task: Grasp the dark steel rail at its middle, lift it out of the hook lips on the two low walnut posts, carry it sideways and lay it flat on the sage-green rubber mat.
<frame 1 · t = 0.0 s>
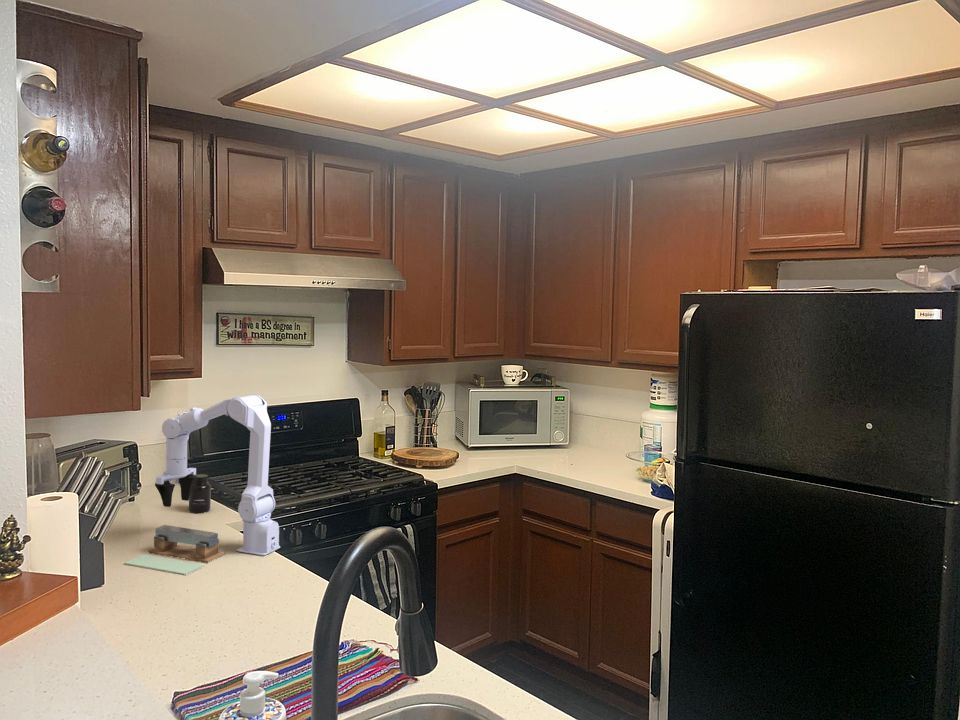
hand: (176, 503, 216), 10 cm above the worktop, tool pointing down, fingers open, 7 cm apart
steel rail: (186, 541, 202), point 4 cm above the worktop, touching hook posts
supplement bottle: (199, 511, 244), on the worktop
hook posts: (186, 553, 202), on the worktop
rubber mat: (164, 565, 193), on the worktop
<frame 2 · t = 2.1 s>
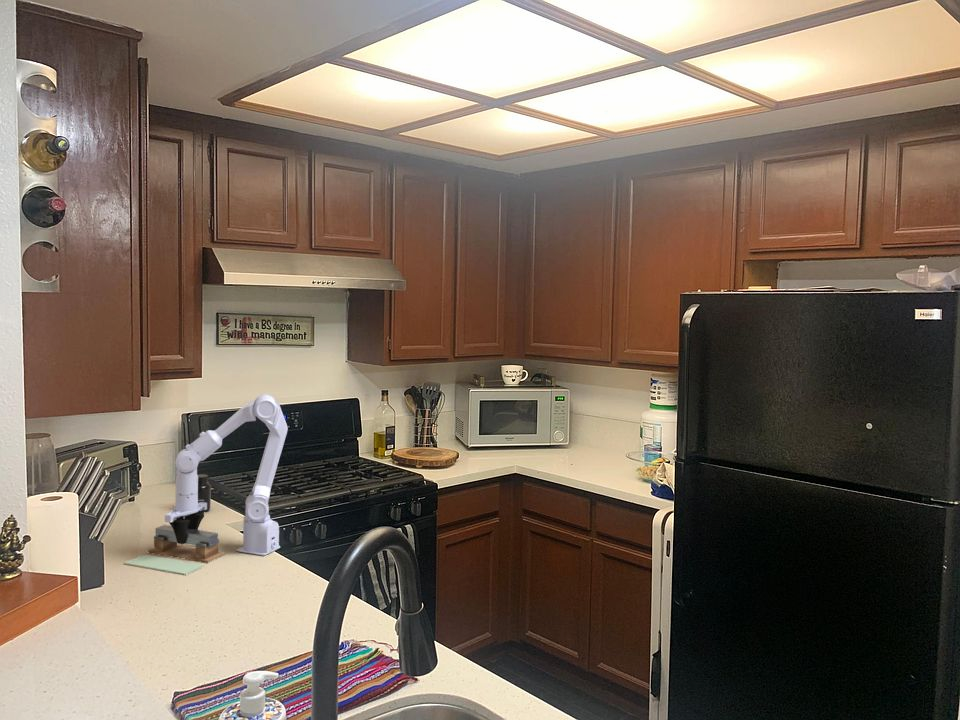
hand: (186, 541, 202), 4 cm above the worktop, tool pointing down, fingers closed on steel rail, 3 cm apart
steel rail: (186, 541, 202), point 4 cm above the worktop, touching gripper, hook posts
everything else where it was.
when the fingers open (2 cm above the worktop, at t = 6.1 s): steel rail drops 1 cm, resting on rubber mat.
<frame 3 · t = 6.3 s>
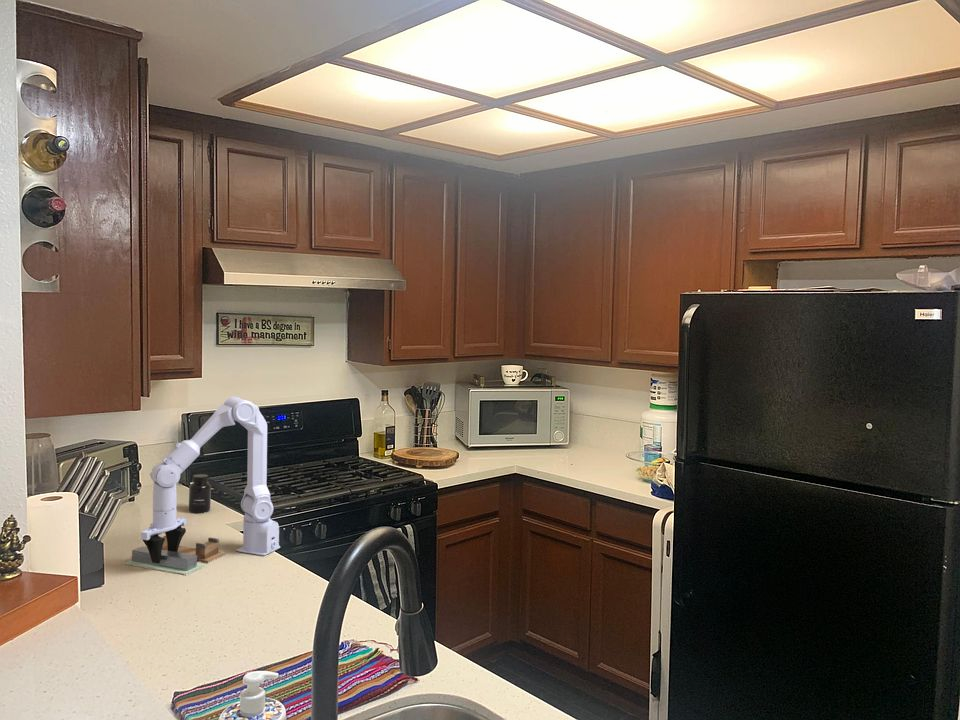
hand: (164, 559, 193), 2 cm above the worktop, tool pointing down, fingers open, 5 cm apart
steel rail: (164, 563, 193), resting on rubber mat
everything else where it was.
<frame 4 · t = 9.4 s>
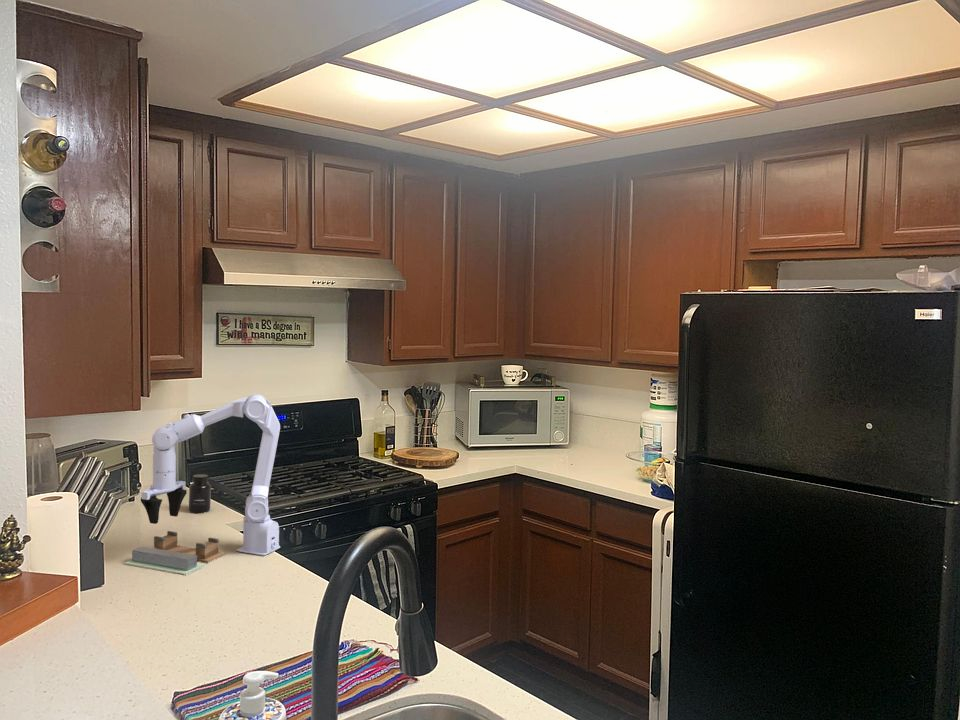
hand: (164, 519, 200), 10 cm above the worktop, tool pointing down, fingers open, 7 cm apart
nothing on the worktop moved.
at the end: steel rail inside the target area on the rubber mat (0.1 cm from its centre), point 0.4 cm above the rubber mat's base; steel rail tilted 0°; the gripper is holding nothing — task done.
